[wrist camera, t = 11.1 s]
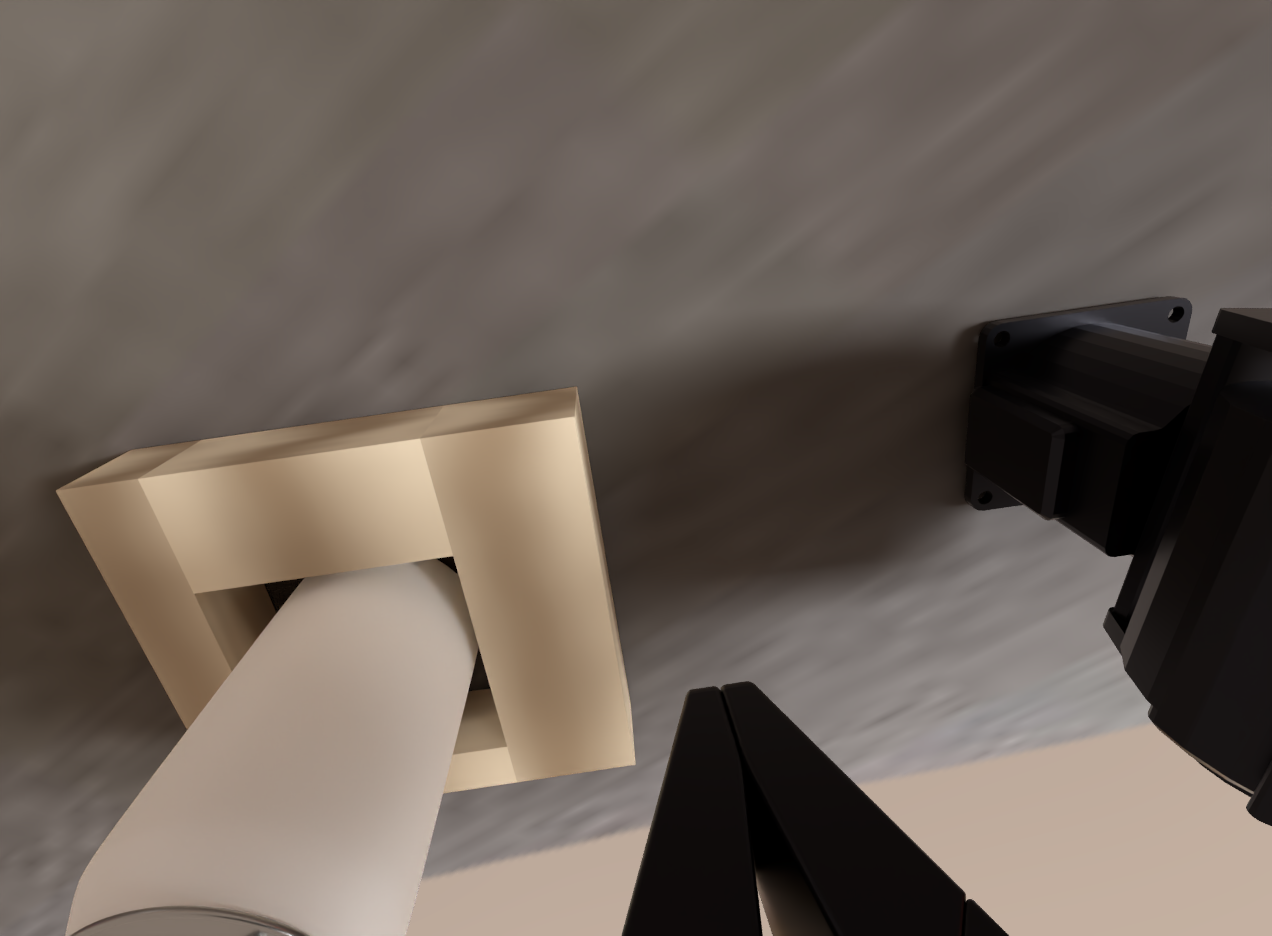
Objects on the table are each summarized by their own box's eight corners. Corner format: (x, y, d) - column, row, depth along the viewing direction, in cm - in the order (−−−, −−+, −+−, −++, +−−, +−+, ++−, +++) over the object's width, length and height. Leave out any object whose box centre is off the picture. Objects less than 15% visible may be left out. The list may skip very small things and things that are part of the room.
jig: (576, 386, 20) (574, 416, 17) (630, 702, 25) (635, 764, 22) (131, 449, 19) (55, 490, 17) (278, 754, 25) (239, 824, 22)
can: (257, 596, 22) (-82, 999, 11) (404, 504, 21) (196, 842, 10) (383, 712, 24) (210, 1139, 13) (520, 634, 23) (457, 1025, 12)
